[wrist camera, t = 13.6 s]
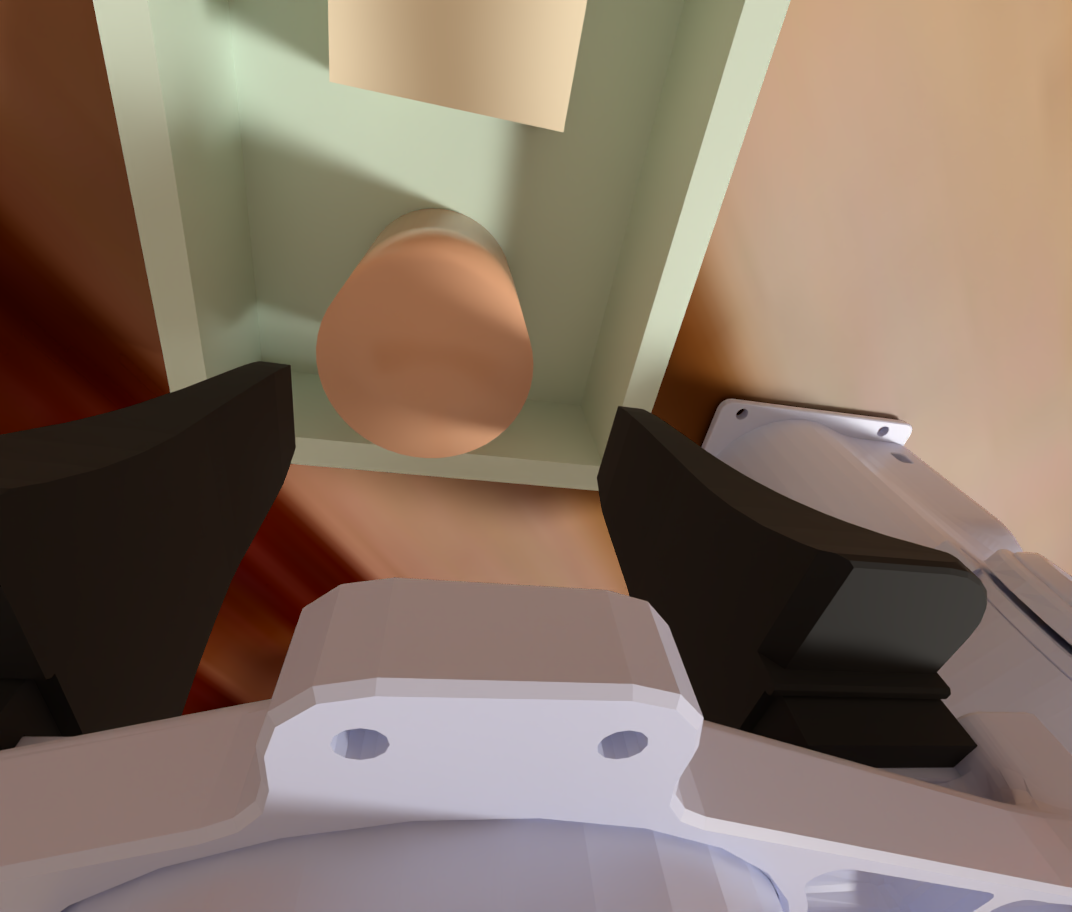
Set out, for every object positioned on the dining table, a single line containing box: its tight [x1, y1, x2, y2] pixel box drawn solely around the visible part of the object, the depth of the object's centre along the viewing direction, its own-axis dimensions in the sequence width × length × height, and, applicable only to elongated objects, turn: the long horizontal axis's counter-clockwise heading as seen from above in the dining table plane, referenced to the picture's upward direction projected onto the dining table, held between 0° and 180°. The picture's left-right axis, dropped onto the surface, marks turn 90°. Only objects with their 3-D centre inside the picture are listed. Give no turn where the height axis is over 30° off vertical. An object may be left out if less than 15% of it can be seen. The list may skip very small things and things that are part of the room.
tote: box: [93, 0, 790, 491], centre depth 15 cm, size 14×18×5 cm
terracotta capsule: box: [316, 208, 533, 458], centre depth 15 cm, size 5×5×7 cm
